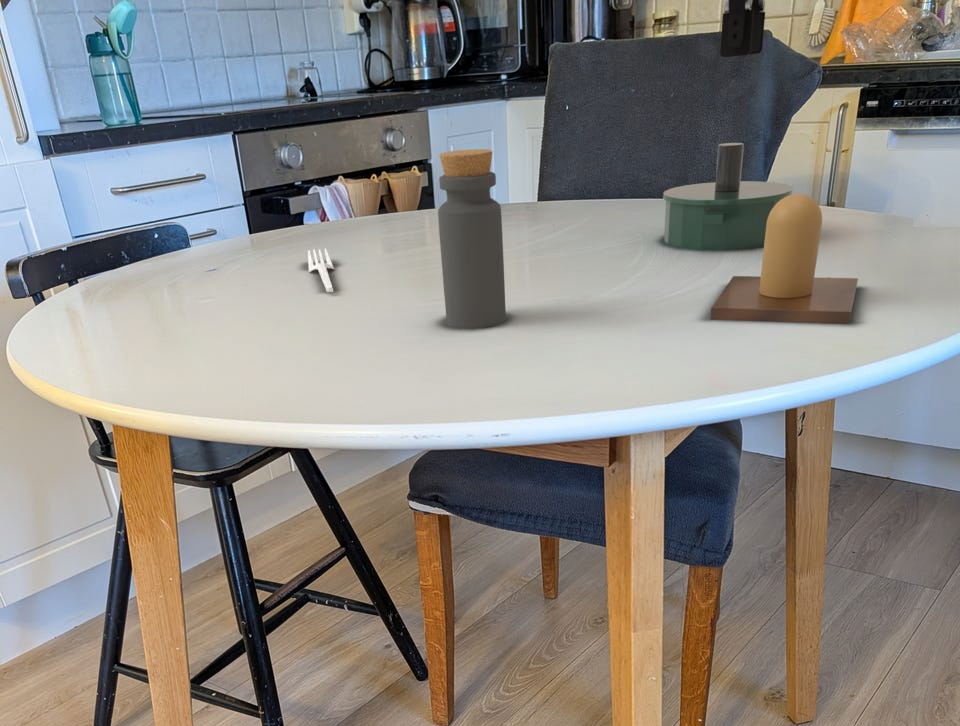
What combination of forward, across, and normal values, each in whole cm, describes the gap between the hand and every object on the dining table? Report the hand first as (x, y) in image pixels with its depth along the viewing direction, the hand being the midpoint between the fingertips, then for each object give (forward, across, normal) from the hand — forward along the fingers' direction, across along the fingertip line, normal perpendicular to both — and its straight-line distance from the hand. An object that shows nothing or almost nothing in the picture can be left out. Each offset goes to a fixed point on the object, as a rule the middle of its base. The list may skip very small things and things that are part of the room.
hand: (741, 55), depth 100 cm
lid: (+15, 0, +1) cm, 15 cm away
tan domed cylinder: (+19, -32, -10) cm, 38 cm away
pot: (+20, 0, +1) cm, 20 cm away
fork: (+20, -24, +46) cm, 55 cm away
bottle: (+20, -42, +18) cm, 50 cm away
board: (+20, -32, -10) cm, 39 cm away
